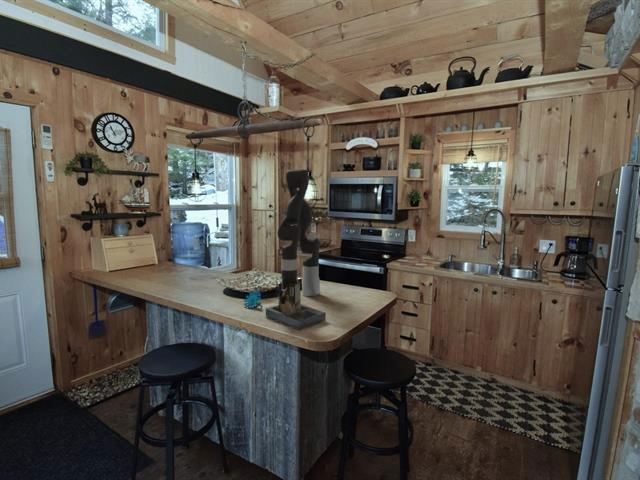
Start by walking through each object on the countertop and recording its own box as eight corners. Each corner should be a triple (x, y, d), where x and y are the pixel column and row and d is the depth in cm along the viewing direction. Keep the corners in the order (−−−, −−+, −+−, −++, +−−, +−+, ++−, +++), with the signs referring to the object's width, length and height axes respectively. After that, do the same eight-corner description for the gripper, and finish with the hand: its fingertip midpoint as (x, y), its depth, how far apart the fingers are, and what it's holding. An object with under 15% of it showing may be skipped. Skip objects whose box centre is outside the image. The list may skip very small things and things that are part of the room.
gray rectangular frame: (291, 308, 174) (291, 300, 173) (325, 321, 157) (325, 312, 156) (265, 316, 162) (265, 307, 162) (299, 330, 146) (299, 320, 145)
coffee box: (301, 314, 164) (301, 281, 162) (295, 319, 158) (295, 285, 156) (284, 312, 167) (284, 280, 165) (277, 316, 161) (277, 283, 159)
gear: (239, 303, 177) (252, 287, 181) (246, 308, 181) (258, 293, 184) (252, 311, 170) (264, 294, 173) (258, 316, 174) (270, 300, 177)
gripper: (295, 264, 167) (295, 297, 169) (272, 269, 157) (272, 303, 159) (306, 267, 162) (305, 300, 164) (282, 271, 152) (282, 307, 154)
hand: (289, 301), depth 162 cm, fingers closed on coffee box, 8 cm apart
